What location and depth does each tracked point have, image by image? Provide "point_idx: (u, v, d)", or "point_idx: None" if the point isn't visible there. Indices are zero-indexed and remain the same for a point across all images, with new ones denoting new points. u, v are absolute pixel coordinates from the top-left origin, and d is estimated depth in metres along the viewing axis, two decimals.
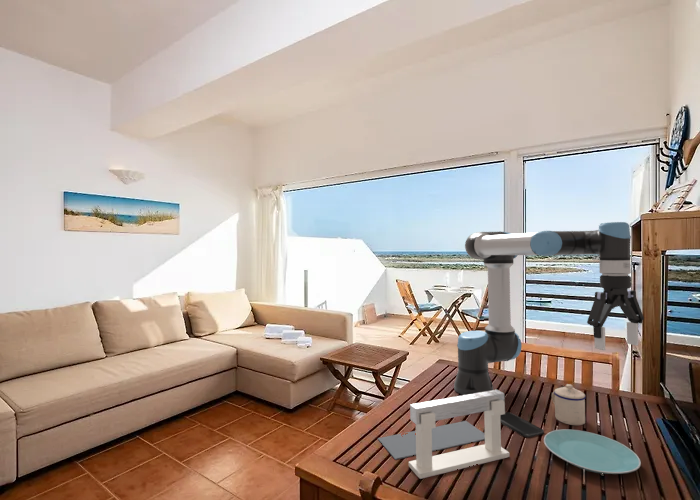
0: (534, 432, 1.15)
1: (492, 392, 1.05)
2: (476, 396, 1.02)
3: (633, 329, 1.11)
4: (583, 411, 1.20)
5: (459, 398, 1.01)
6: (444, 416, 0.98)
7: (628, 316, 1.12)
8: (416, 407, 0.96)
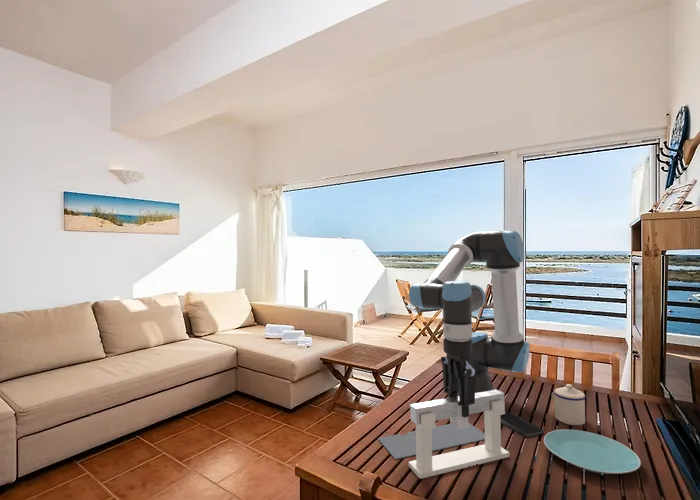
0: (534, 432, 1.15)
1: (492, 392, 1.05)
2: (476, 396, 1.02)
3: None
4: (583, 411, 1.20)
5: None
6: (444, 416, 0.98)
7: None
8: (416, 407, 0.96)
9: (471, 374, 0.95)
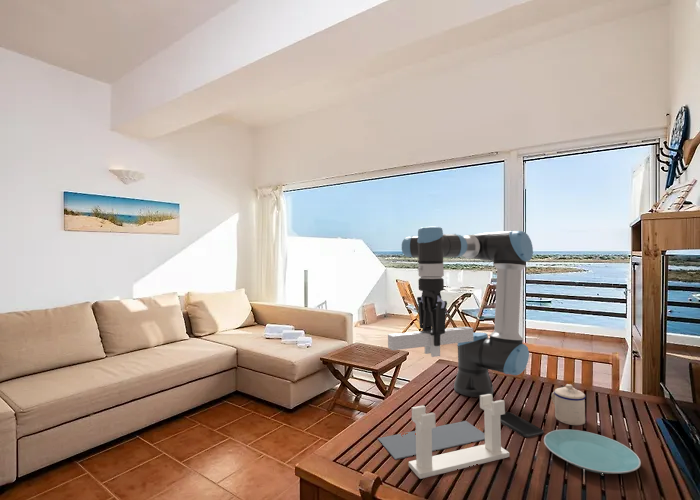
0: (534, 432, 1.15)
1: (463, 328, 1.17)
2: (448, 329, 1.15)
3: None
4: (583, 411, 1.20)
5: None
6: (418, 345, 1.10)
7: None
8: (393, 335, 1.08)
9: (441, 306, 1.07)
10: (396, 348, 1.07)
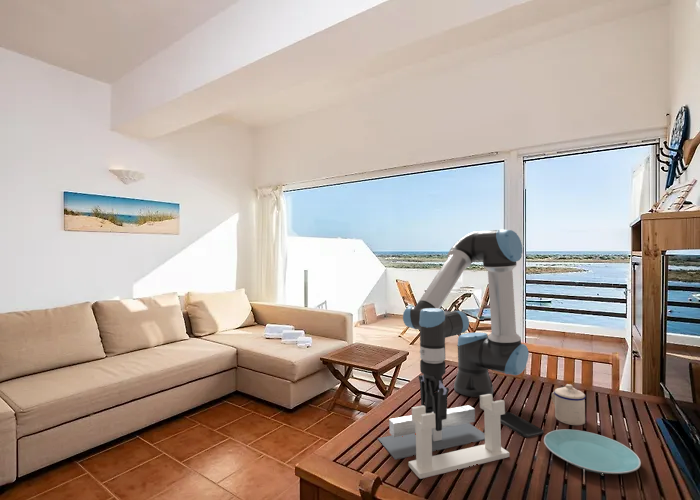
0: (534, 432, 1.15)
1: (464, 408, 1.17)
2: (449, 411, 1.15)
3: None
4: (583, 411, 1.20)
5: None
6: None
7: None
8: (394, 421, 1.08)
9: (443, 393, 1.07)
10: (397, 435, 1.07)
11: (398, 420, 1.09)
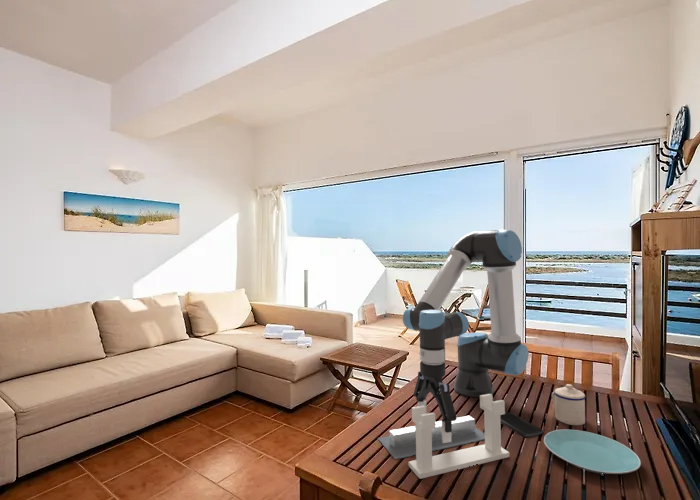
0: (534, 432, 1.15)
1: (464, 418, 1.17)
2: None
3: None
4: (583, 411, 1.20)
5: None
6: None
7: None
8: (395, 433, 1.08)
9: (444, 388, 1.07)
10: (398, 447, 1.07)
11: (398, 432, 1.09)
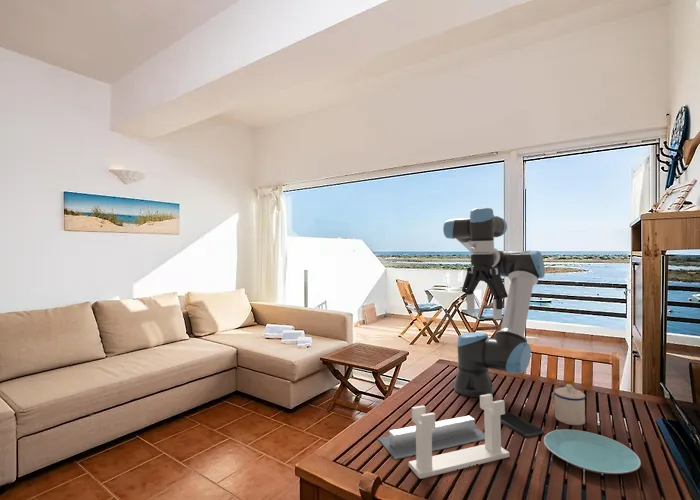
0: (534, 432, 1.15)
1: (464, 418, 1.17)
2: (450, 422, 1.14)
3: None
4: (583, 411, 1.20)
5: None
6: None
7: None
8: (395, 433, 1.08)
9: (495, 271, 1.20)
10: (398, 447, 1.07)
11: (398, 432, 1.09)
